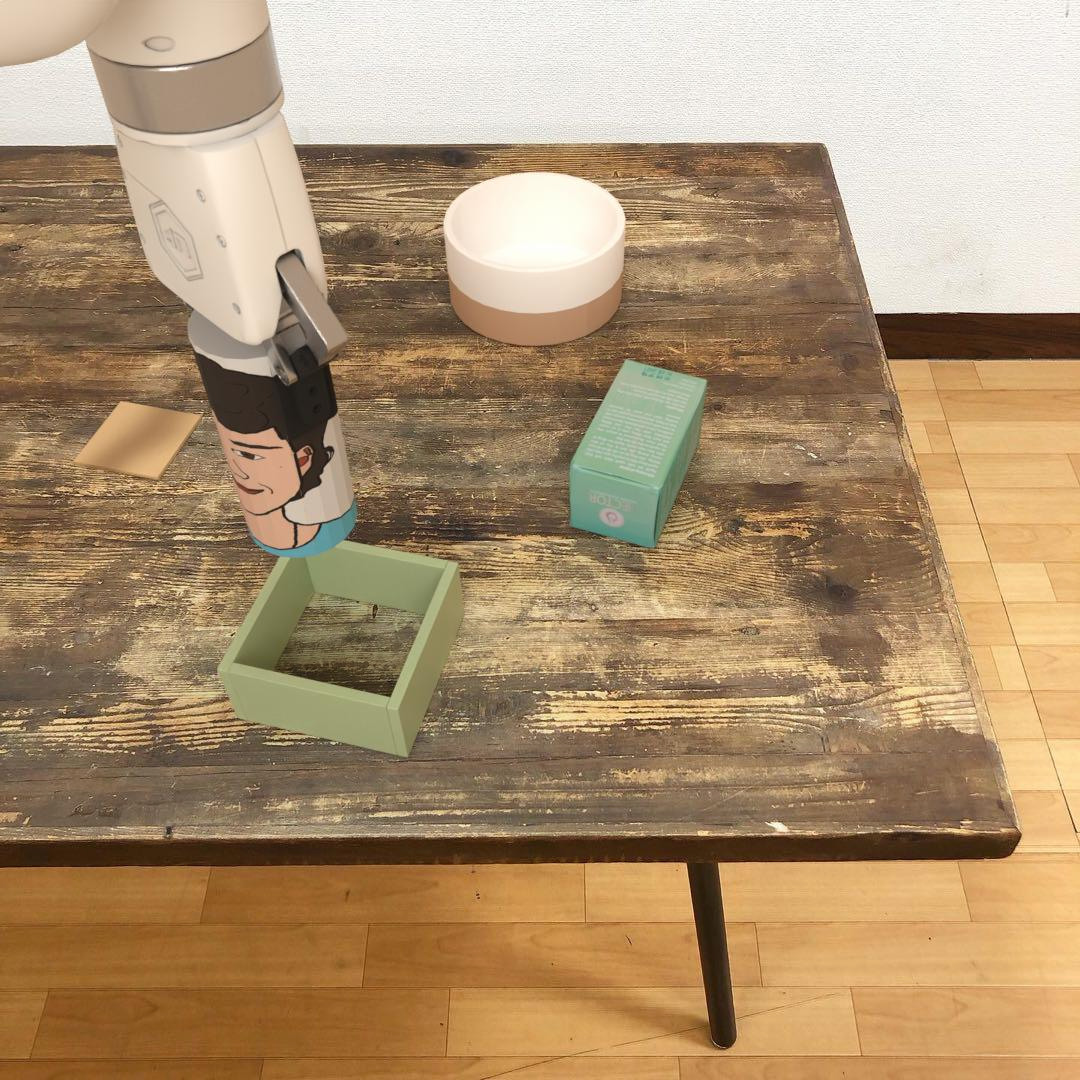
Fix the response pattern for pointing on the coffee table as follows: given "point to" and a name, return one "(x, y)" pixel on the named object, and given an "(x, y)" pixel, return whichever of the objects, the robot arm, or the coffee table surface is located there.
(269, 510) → the grey printed cylinder
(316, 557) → the crate
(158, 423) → the coaster
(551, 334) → the bowl
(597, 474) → the box
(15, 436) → the coffee table surface
